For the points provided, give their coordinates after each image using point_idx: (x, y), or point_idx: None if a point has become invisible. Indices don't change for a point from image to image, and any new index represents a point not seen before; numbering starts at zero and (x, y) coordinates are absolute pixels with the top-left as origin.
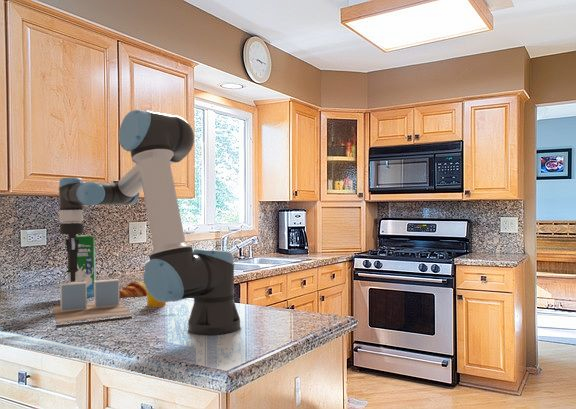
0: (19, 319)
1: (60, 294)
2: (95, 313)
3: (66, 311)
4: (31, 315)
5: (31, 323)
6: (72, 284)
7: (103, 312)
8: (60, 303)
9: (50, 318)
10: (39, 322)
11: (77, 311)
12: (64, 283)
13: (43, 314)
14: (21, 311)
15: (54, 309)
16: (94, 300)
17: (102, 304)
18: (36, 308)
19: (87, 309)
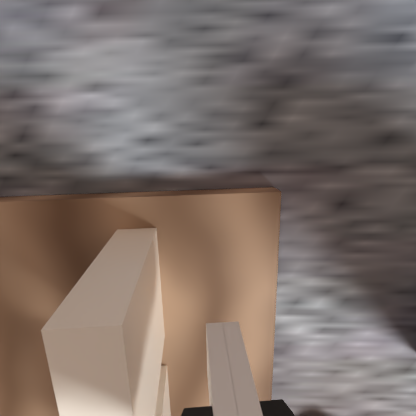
0: (146, 15)
1: (108, 272)
2: (5, 367)
3: None
4: (224, 80)
5: (9, 84)
6: (64, 413)
7: (15, 395)
8: (144, 242)
9: (97, 175)
10: (20, 124)
11: None
12: (111, 360)
13: (217, 141)
14: (373, 21)
15: (200, 199)
16: None
17: None
18: (404, 104)
19: None
